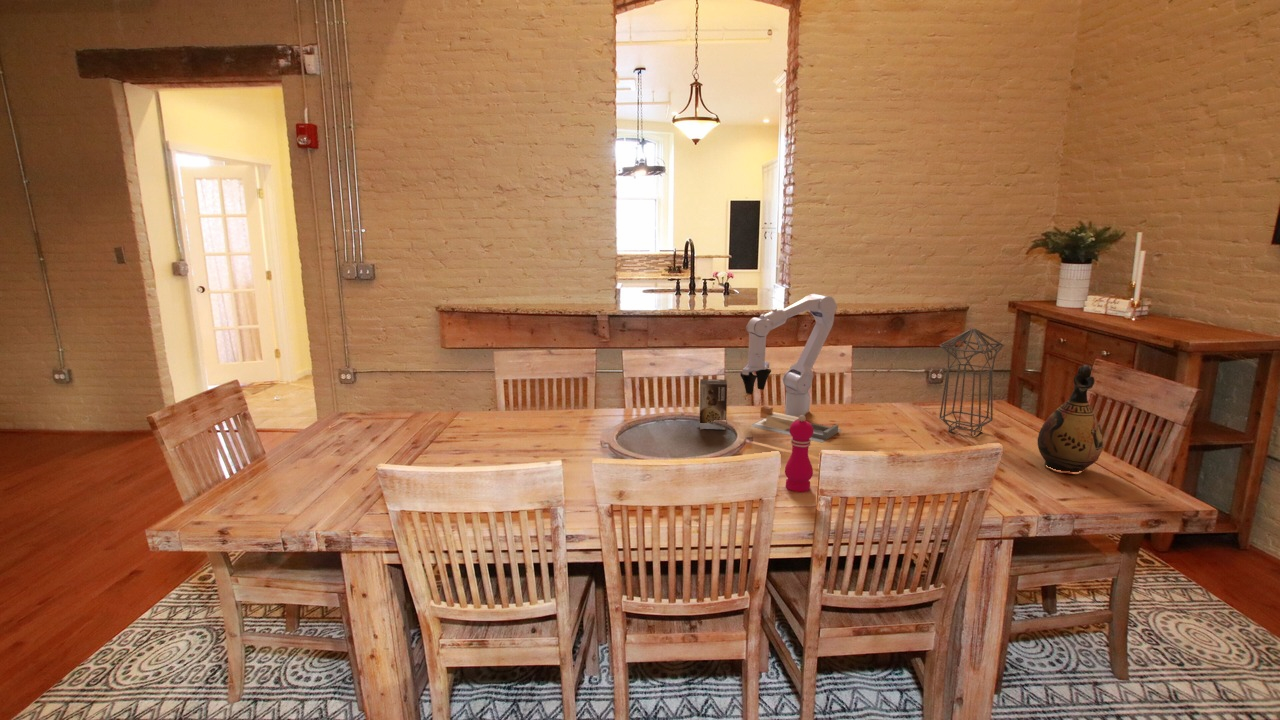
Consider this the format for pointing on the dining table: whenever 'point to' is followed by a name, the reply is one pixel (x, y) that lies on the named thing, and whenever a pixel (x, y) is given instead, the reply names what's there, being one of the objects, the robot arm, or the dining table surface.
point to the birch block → (777, 418)
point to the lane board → (819, 431)
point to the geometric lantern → (960, 338)
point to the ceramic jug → (1072, 430)
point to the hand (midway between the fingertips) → (755, 391)
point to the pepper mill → (799, 456)
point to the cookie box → (713, 400)
